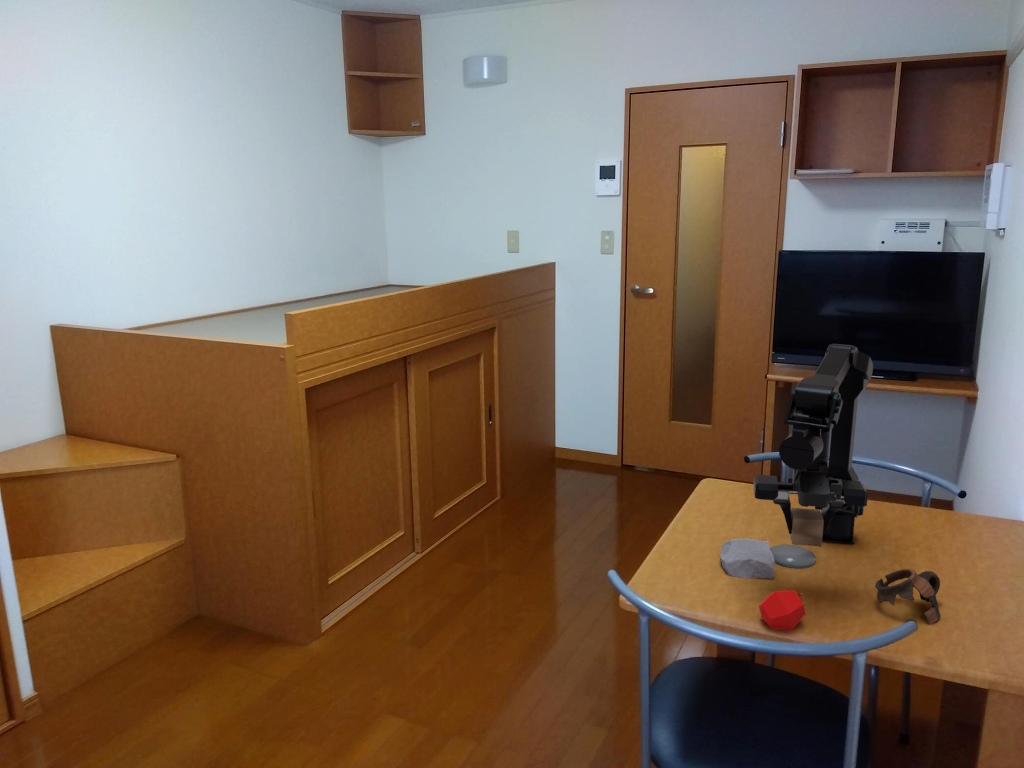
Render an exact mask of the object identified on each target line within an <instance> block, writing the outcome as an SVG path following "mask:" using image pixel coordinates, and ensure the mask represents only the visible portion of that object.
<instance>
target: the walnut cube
mask: <svg viewBox="0 0 1024 768" xmlns="http://www.w3.org/2000/svg"><path fill="white" fill-rule="evenodd" d="M791 519H792V533H791V534H789V537H790V541H791V545H796V546H799V545H800V546H810V547H823V541H822V536H823V523H824V520H823V517H822V514H821V510H819V509H818V510H817V509H815V508H814V509H813V508H800V507H799V508H798V507H791Z"/></svg>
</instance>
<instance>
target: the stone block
mask: <svg viewBox="0 0 1024 768" xmlns="http://www.w3.org/2000/svg"><path fill="white" fill-rule="evenodd" d="M721 547H722V548H721V551H720V557H719V558H720V561H721V566H722V567H721V568H722V569H723V570H724V571H725V572H726V574H728V575H729V576H730V577H733V578H741V579H769V580H772V579H773V578H774V577H775V564H776V563H775V561H774V556H773V554H772V552H771V551H770V548H771V547H770V542H769V541H768V540H766V541H764V540H758V539H752V538H742V537H741V538H739V537H738V538H734V539H728V540H727V541H724V542H722V546H721Z"/></svg>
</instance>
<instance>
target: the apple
mask: <svg viewBox="0 0 1024 768" xmlns="http://www.w3.org/2000/svg"><path fill="white" fill-rule="evenodd" d="M803 601H804V593H803V592H799V594H798V593H797V591H796V590H795V589H794V590H793V589H792V590H775V591H772V592H770V593H769V594H768V595H767V596H766V598H764V600H763V601H762V602H761V603H760V604H759V606H758V608H759V612H760V617H761V619H763V621H764V622H765V623H766V624H767V625H768V626H769V627H770V628H771V629H772V630H773V629H774V630H779V629H781V630H793V629H794V628H795V627H796V626H797V625H798V623H799V622H800V621H801V620H802V618H803V617H804V616H805V615H806V611H805V610H806V609H805V605H804V602H803Z"/></svg>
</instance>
